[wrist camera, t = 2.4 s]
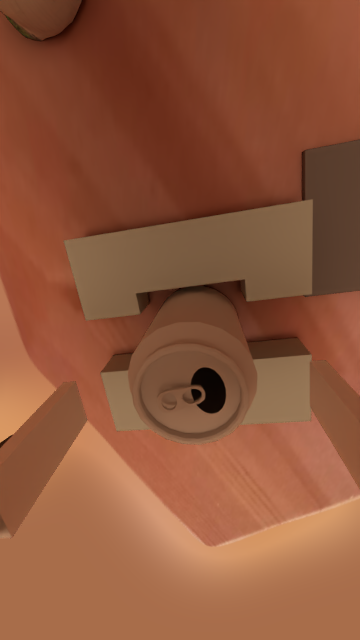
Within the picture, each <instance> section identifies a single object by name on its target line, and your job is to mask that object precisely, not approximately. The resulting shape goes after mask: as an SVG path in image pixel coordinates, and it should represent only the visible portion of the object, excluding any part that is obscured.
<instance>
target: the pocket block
mask: <svg viewBox="0 0 360 640" xmlns="http://www.w3.org/2000/svg"><path fill="white" fill-rule="evenodd" d="M312 234H313V199H311V200H305V201H299V202H293V203H287V204H281V205H275V206H269V207H263V208H257V209H251V210H245V211H239V212H233V213H227V214H221V215H215V216H209V217H203V218H197V219H191V220H185V221H179V222H173V223H167V224H161V225H155V226H149V227H143V228H137V229H131V230H125V231H119V232H113V233H107V234H101V235H95V236H89V237H83V238H77V239H71V240H65V241H64V244H65V248H66V251H67V255H68V258H69V262H70V266H71V269H72V273H73V276H74V280H75V284H76V287H77V291H78V294H79V298H80V301H81V305H82V309H83V312H84V316H85V319H86V321H87V320H96V319H104V318H113V317H121V316H130V315H138V314H141V313H142V311H143V310H144V309H145V308H146V306H147V305H148V304H149V299H148V294H147V292H151V291H159V290H166V289H174V288H182V287H189V286H197V285H205V284H213V283H220V282H228V281H236V280H240V283H241V292H242V294H243V296H244V298H245V300H246V301H247V302H249V301H258V300H266V299H275V298H283V297H292V296H300V295H309V294H312ZM247 344H248V347H249V350H250V353H251V356H252V359H253V362H254V365H255V368H256V371H257V393H256V395H255V397H254V399H253V402H252V404H251V406H250V408H249V410H248V411H247V413H246V416H245V418H244V420H243V422H242V423H241V424H240V425H245V424H264V423H283V422H303V421H311V407H310V361H312V355H311V353H310V352H309V351H308V350H307V349H306V347H305V346H304V345H303V344H302V343H301V341H300V340H299V339H298V338H288V339H278V340H267V341H257V342H247ZM132 355H133V353H131V354H121V355H113V357H112V358H111V359H110V361H109V362H108V363H107V365H106V366H105V367H104V369H103V370H102V371H101V377H102V380H103V384H104V388H105V391H106V395H107V398H108V402H109V406H110V409H111V413H112V416H113V420H114V423H115V427H116V431H129V430H148V429H150V428H149V427H148V426H147V425H146V424H145V423H144V422H143V421H142V420H141V419H140V417H139V415H138V413H137V411H136V409H135V407H134V405H133V398H132V394H131V392H130V387H129V380H128V370H129V365H130V361H131V356H132Z"/></svg>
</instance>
